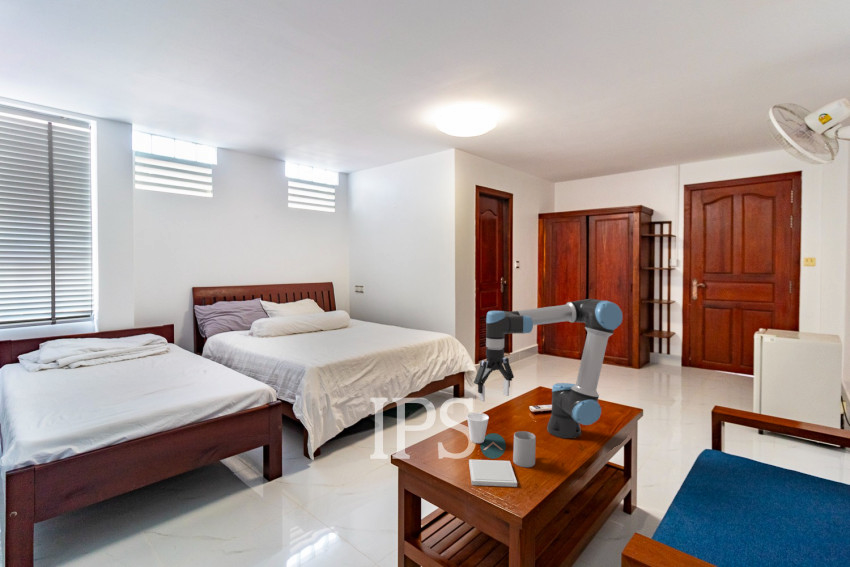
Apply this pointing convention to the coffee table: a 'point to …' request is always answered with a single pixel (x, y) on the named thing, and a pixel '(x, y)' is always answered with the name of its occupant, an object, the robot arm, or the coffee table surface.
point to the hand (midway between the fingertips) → (494, 397)
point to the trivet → (492, 473)
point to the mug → (524, 449)
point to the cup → (477, 426)
